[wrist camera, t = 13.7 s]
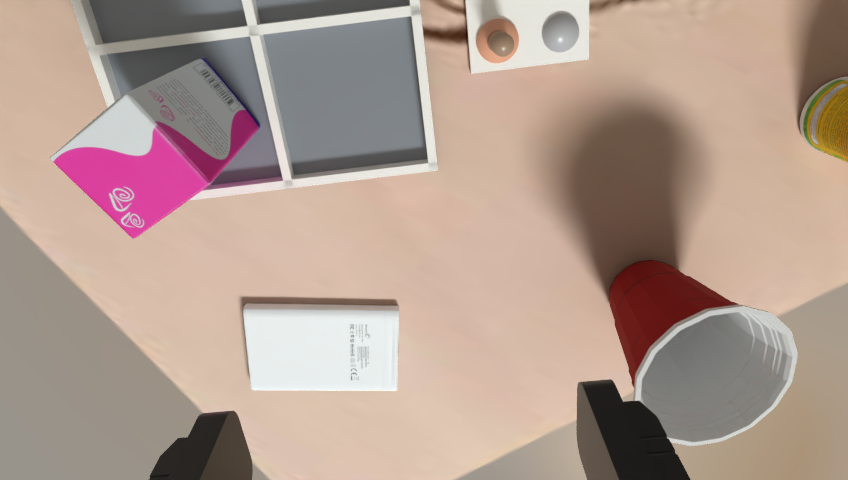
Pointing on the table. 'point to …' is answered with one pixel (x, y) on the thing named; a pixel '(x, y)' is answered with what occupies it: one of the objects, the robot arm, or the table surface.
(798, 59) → the table surface
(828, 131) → the supplement bottle
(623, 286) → the plastic cup
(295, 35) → the socket board
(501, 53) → the tile
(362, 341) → the external hard drive
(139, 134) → the supplement box
